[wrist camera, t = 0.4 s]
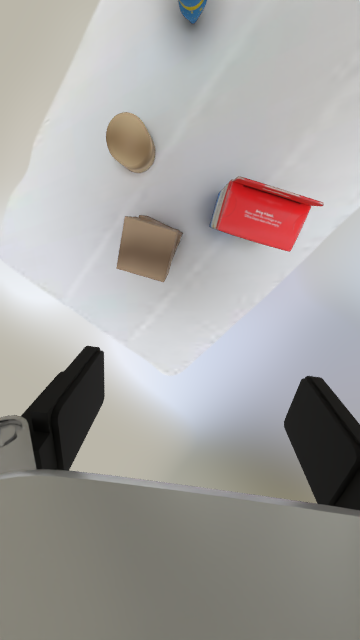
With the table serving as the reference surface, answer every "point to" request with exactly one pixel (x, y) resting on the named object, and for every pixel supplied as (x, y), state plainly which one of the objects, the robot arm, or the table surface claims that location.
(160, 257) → the top block
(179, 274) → the table surface
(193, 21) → the ornament
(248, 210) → the ink box
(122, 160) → the beige knob
